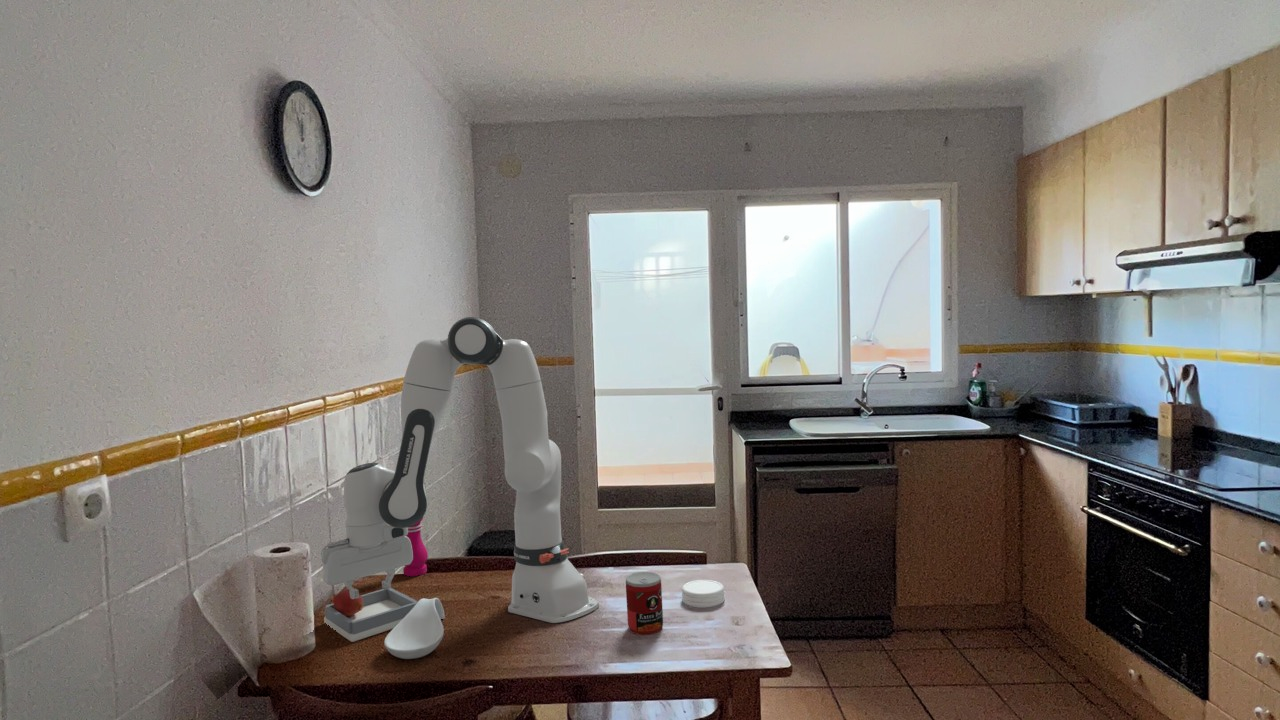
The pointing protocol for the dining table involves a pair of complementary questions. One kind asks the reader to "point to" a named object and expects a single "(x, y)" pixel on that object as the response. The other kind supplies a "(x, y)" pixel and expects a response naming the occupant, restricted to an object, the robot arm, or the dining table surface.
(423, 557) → the pepper mill
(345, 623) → the stand
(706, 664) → the dining table surface
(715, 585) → the white short cylinder
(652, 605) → the canned food
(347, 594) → the onion
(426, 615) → the spoon rest
